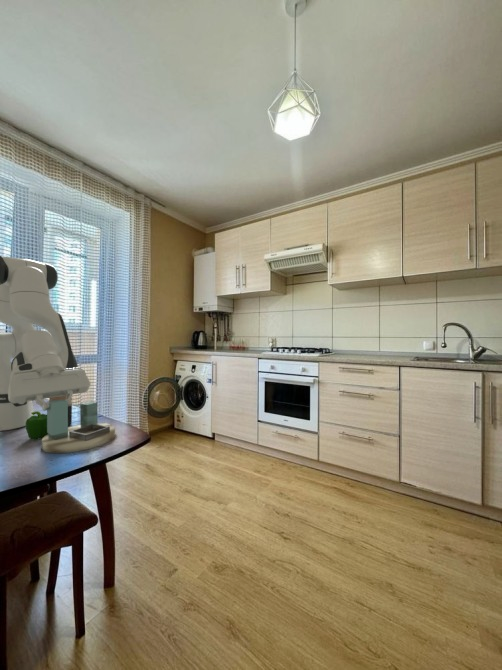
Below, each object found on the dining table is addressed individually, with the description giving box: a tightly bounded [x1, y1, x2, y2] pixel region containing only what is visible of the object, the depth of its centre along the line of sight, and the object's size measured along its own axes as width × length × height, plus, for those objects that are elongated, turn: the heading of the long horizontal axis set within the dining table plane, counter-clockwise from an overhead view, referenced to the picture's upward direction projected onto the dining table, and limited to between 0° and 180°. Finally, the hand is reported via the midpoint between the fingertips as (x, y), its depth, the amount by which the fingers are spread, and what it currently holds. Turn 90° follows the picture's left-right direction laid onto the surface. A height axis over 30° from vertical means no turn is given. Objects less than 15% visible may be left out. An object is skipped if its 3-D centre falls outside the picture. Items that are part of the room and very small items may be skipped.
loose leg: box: [46, 399, 69, 435], centre depth 81 cm, size 4×4×9 cm
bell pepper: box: [25, 410, 48, 441], centre depth 101 cm, size 8×8×10 cm
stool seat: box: [41, 401, 116, 454], centre depth 98 cm, size 22×22×12 cm
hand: (58, 407), depth 81 cm, fingers closed on loose leg, 4 cm apart
